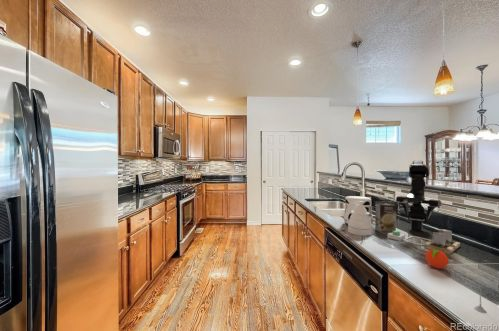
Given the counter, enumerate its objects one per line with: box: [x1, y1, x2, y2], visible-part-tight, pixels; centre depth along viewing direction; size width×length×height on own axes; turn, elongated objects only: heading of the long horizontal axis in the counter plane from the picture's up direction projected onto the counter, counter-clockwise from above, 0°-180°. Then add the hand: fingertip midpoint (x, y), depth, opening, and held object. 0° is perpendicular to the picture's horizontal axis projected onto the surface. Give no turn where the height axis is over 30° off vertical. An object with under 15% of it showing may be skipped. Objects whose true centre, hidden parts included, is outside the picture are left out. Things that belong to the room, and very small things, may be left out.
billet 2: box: [438, 228, 453, 245], centre depth 110 cm, size 5×5×7 cm
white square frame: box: [387, 232, 406, 242], centre depth 120 cm, size 6×6×3 cm
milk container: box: [343, 195, 374, 225], centre depth 148 cm, size 17×17×18 cm
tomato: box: [425, 249, 449, 269], centre depth 87 cm, size 8×7×7 cm
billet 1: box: [432, 231, 446, 249], centre depth 105 cm, size 5×5×7 cm
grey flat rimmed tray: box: [401, 235, 432, 247], centre depth 116 cm, size 13×9×1 cm
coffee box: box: [374, 202, 397, 233], centre depth 136 cm, size 9×6×16 cm
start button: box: [393, 230, 401, 236], centre depth 120 cm, size 3×3×2 cm
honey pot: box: [347, 201, 373, 237], centre depth 132 cm, size 13×13×18 cm
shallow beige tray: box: [423, 239, 461, 255], centre depth 107 cm, size 17×9×3 cm, turn 126°
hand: (417, 217), depth 120 cm, fingers open, 9 cm apart
